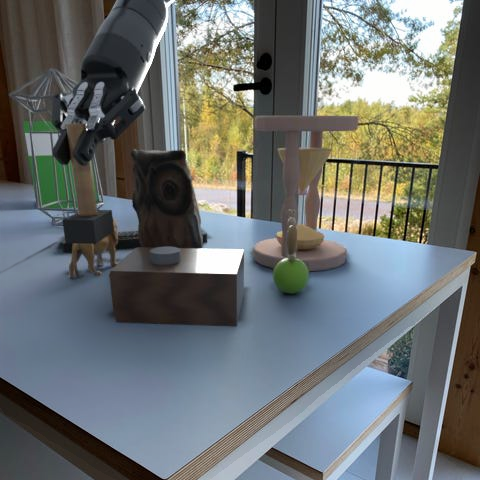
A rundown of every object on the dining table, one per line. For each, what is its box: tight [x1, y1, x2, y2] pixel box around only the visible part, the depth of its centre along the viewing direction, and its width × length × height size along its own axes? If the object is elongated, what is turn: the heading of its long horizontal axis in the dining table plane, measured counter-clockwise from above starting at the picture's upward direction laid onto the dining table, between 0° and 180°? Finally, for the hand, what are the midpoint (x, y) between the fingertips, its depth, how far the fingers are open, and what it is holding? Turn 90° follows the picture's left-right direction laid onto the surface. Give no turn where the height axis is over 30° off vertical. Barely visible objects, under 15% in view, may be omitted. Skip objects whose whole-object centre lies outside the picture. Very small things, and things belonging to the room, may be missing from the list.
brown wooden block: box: [108, 247, 245, 327], centre depth 66 cm, size 17×12×7 cm
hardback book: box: [22, 120, 98, 209], centre depth 141 cm, size 18×7×24 cm, turn 110°
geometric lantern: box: [8, 68, 105, 227], centre depth 113 cm, size 16×16×35 cm
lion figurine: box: [68, 217, 119, 281], centre depth 82 cm, size 15×5×9 cm, turn 171°
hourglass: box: [252, 115, 359, 272], centre depth 86 cm, size 18×18×25 cm
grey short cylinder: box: [150, 247, 181, 265], centre depth 63 cm, size 4×4×2 cm
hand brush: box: [61, 123, 114, 244], centre depth 60 cm, size 4×7×14 cm, turn 175°
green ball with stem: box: [272, 209, 310, 294], centre depth 71 cm, size 5×6×12 cm
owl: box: [130, 148, 204, 249], centre depth 83 cm, size 13×13×20 cm
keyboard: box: [61, 229, 208, 253], centre depth 103 cm, size 30×11×2 cm, turn 107°
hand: (69, 160), depth 57 cm, fingers closed on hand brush, 2 cm apart
